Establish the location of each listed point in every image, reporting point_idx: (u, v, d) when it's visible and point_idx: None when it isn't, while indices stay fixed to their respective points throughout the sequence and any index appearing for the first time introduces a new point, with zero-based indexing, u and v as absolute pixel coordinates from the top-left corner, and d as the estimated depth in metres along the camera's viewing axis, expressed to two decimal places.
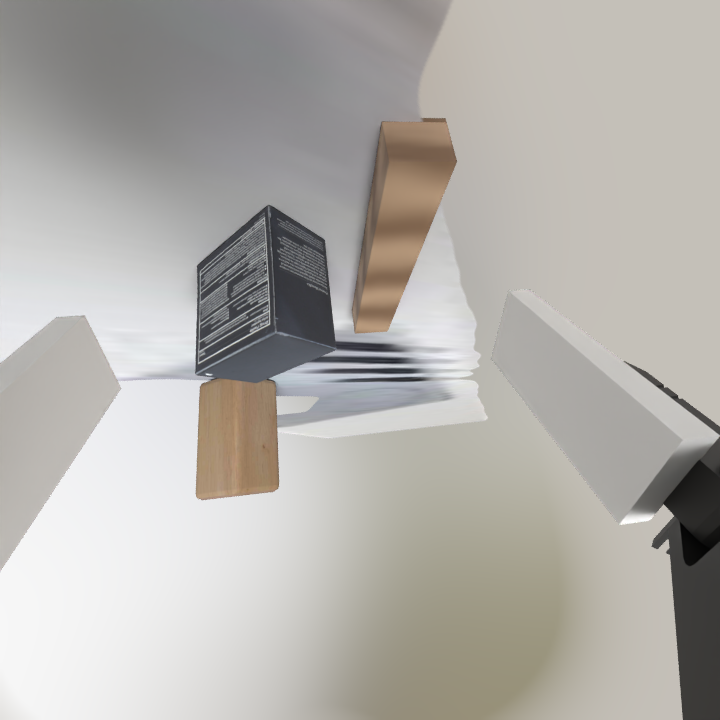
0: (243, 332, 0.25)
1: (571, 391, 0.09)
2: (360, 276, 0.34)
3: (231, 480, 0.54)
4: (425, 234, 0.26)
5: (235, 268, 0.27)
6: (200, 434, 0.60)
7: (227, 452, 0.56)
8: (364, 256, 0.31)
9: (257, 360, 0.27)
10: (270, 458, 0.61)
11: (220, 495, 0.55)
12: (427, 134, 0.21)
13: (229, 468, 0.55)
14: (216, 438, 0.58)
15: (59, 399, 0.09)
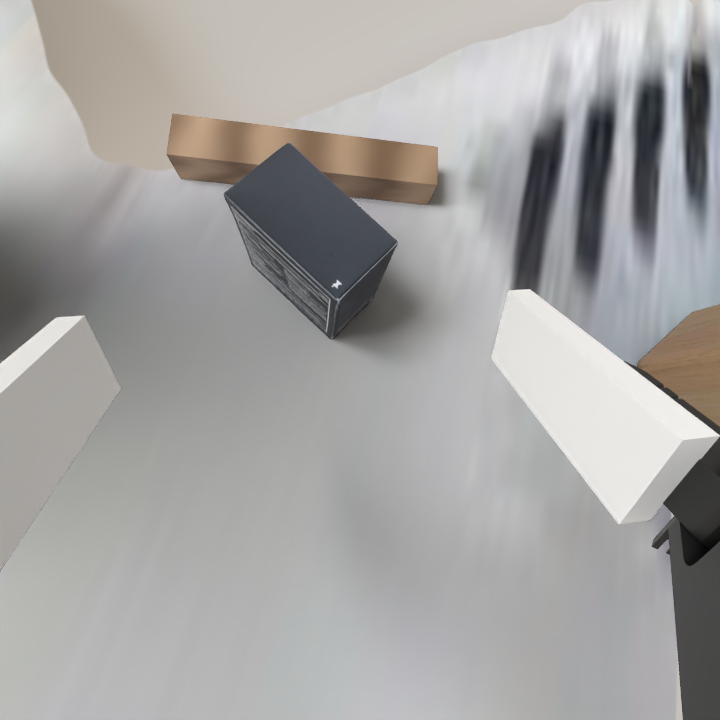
0: (262, 238, 0.24)
1: (571, 391, 0.09)
2: None
3: None
4: (246, 124, 0.32)
5: (280, 281, 0.29)
6: None
7: None
8: None
9: (296, 221, 0.23)
10: None
11: None
12: None
13: None
14: None
15: (59, 399, 0.09)
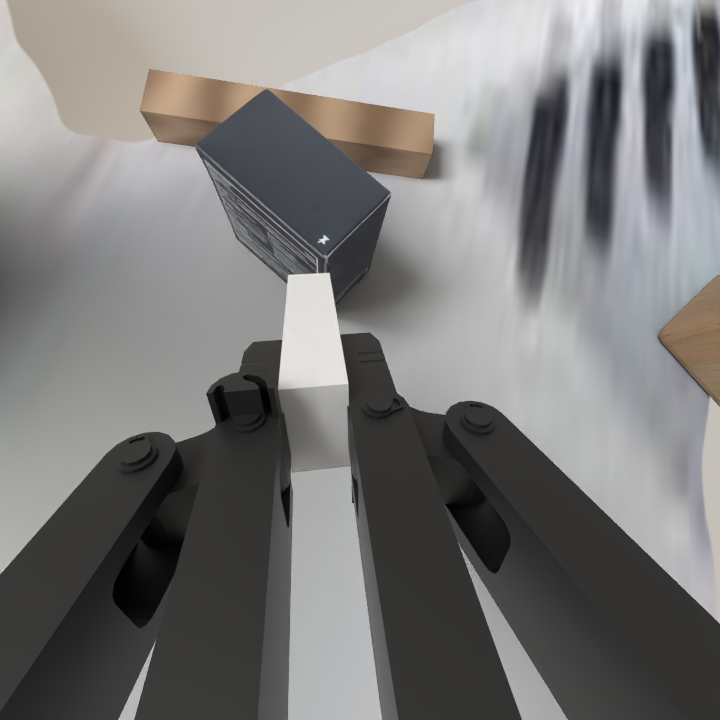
0: (240, 194, 0.21)
1: None
2: None
3: None
4: (227, 82, 0.29)
5: (265, 251, 0.27)
6: None
7: None
8: None
9: (276, 172, 0.20)
10: None
11: None
12: None
13: None
14: None
15: None
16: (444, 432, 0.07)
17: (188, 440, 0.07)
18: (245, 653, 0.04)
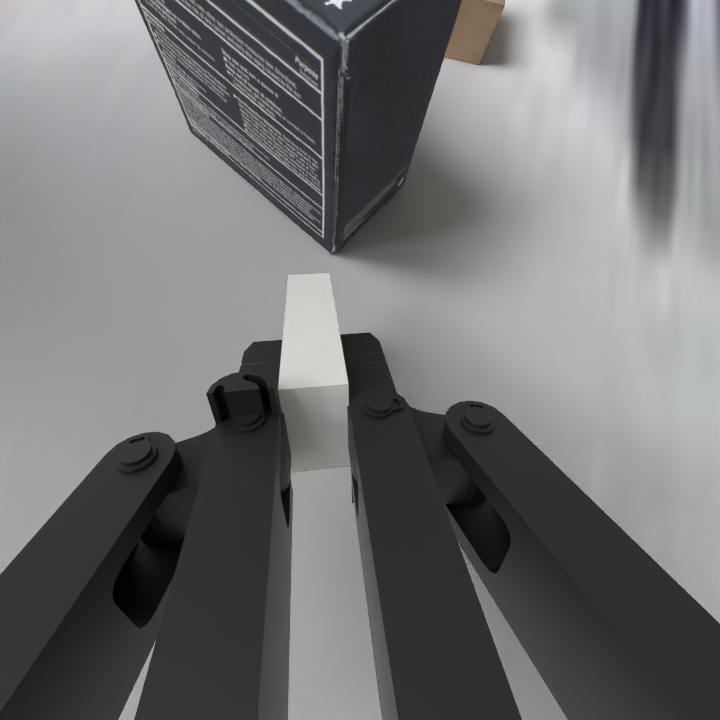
0: None
1: None
2: None
3: None
4: None
5: (230, 129, 0.15)
6: None
7: None
8: None
9: None
10: None
11: None
12: None
13: None
14: None
15: None
16: (444, 432, 0.07)
17: (188, 440, 0.07)
18: (245, 653, 0.04)
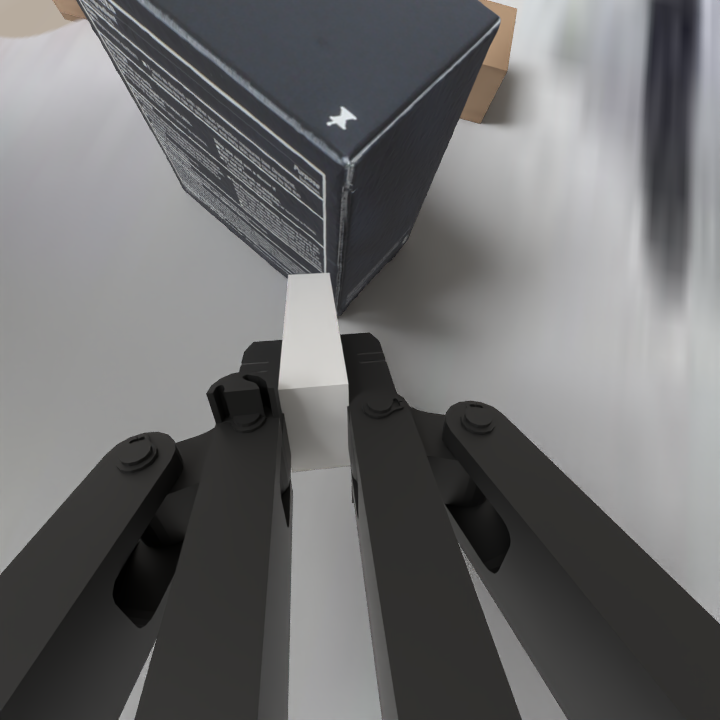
0: (137, 34, 0.09)
1: None
2: None
3: None
4: None
5: (225, 200, 0.14)
6: None
7: None
8: None
9: None
10: None
11: None
12: None
13: None
14: None
15: None
16: (444, 432, 0.07)
17: (188, 440, 0.07)
18: (245, 653, 0.04)
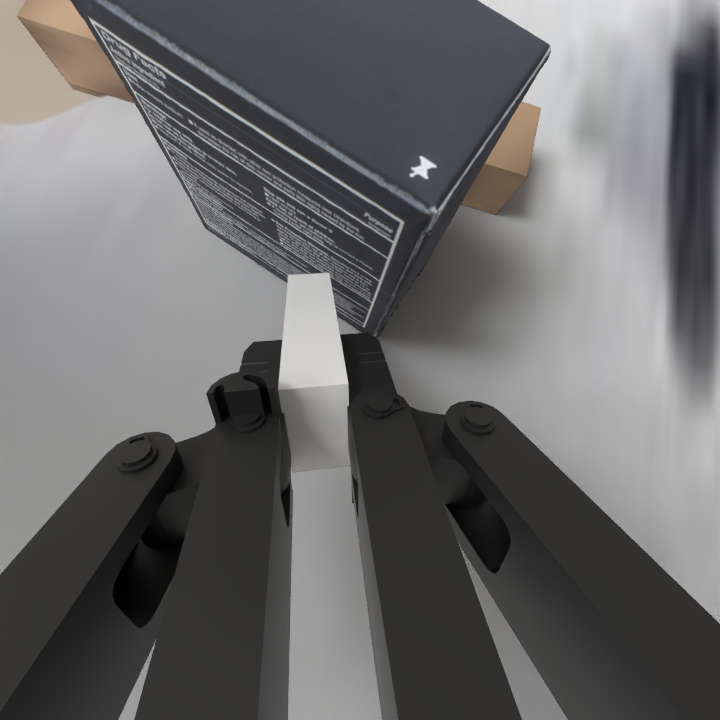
0: (191, 97, 0.09)
1: None
2: None
3: None
4: None
5: (260, 238, 0.14)
6: None
7: None
8: None
9: (273, 14, 0.08)
10: None
11: None
12: None
13: None
14: None
15: None
16: (444, 432, 0.07)
17: (188, 440, 0.07)
18: (245, 653, 0.04)
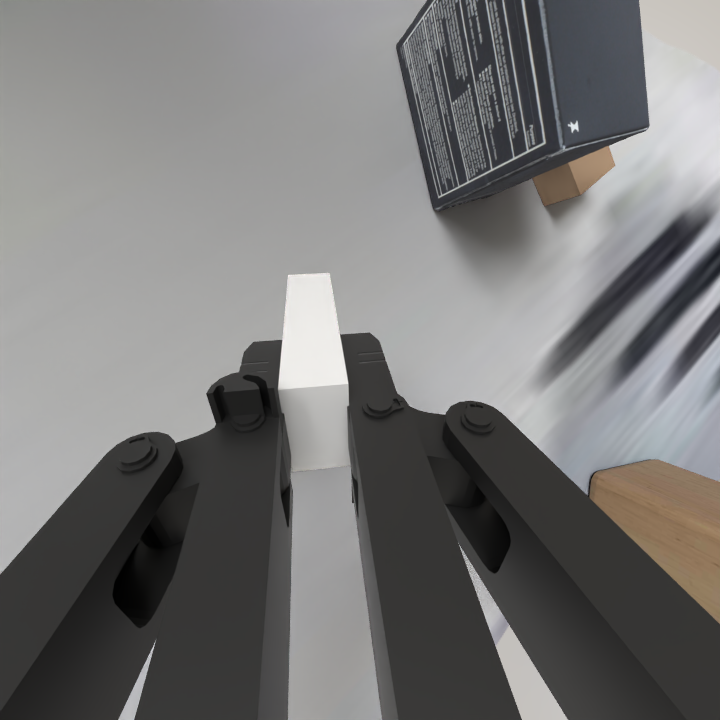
0: None
1: None
2: None
3: None
4: None
5: (440, 88, 0.20)
6: None
7: None
8: None
9: None
10: None
11: None
12: None
13: None
14: (719, 592, 0.26)
15: None
16: (444, 432, 0.07)
17: (188, 440, 0.07)
18: (245, 653, 0.04)
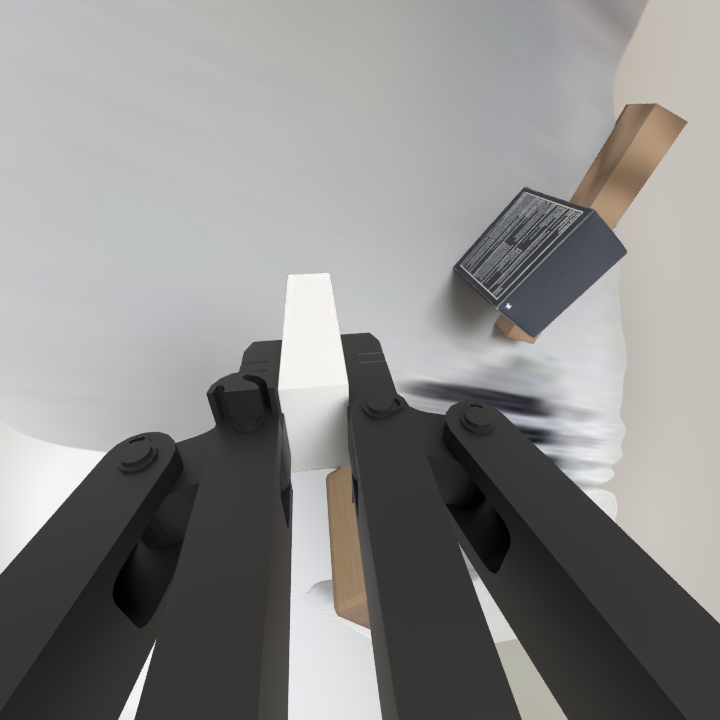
0: (550, 239, 0.30)
1: None
2: None
3: None
4: (635, 194, 0.35)
5: (508, 230, 0.35)
6: (333, 526, 0.49)
7: None
8: None
9: (560, 271, 0.30)
10: None
11: None
12: None
13: None
14: None
15: None
16: (444, 432, 0.07)
17: (188, 440, 0.07)
18: (245, 653, 0.04)
